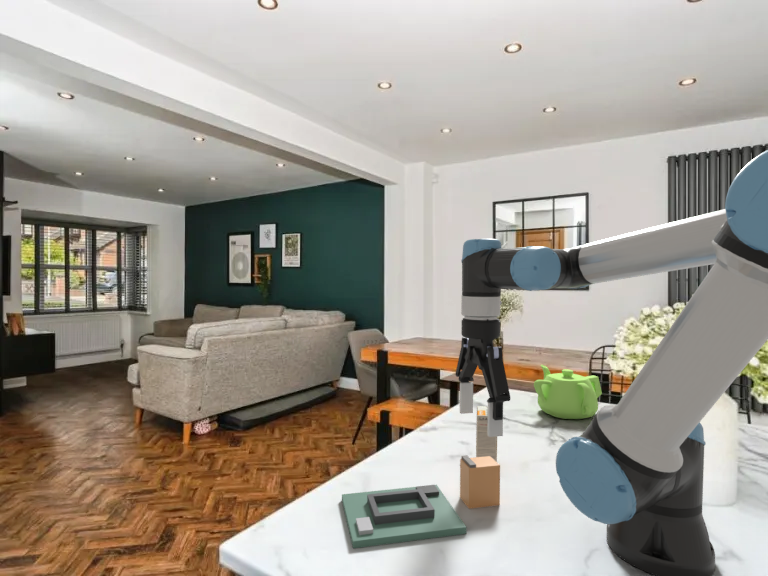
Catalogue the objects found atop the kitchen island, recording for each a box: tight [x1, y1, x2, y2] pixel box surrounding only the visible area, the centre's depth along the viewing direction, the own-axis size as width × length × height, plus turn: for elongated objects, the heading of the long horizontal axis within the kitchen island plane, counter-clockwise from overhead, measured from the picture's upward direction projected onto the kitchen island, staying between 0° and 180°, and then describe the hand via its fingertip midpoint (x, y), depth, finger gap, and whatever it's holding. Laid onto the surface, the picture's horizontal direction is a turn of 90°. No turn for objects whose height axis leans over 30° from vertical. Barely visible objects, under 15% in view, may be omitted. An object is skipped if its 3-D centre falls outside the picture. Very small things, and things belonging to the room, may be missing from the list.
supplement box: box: [475, 405, 498, 463], centre depth 105 cm, size 8×5×13 cm, turn 168°
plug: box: [459, 454, 501, 510], centre depth 89 cm, size 4×6×9 cm
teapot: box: [533, 364, 603, 420], centre depth 145 cm, size 19×20×14 cm
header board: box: [341, 484, 467, 549], centre depth 83 cm, size 16×20×3 cm
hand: (479, 423), depth 89 cm, fingers open, 13 cm apart
